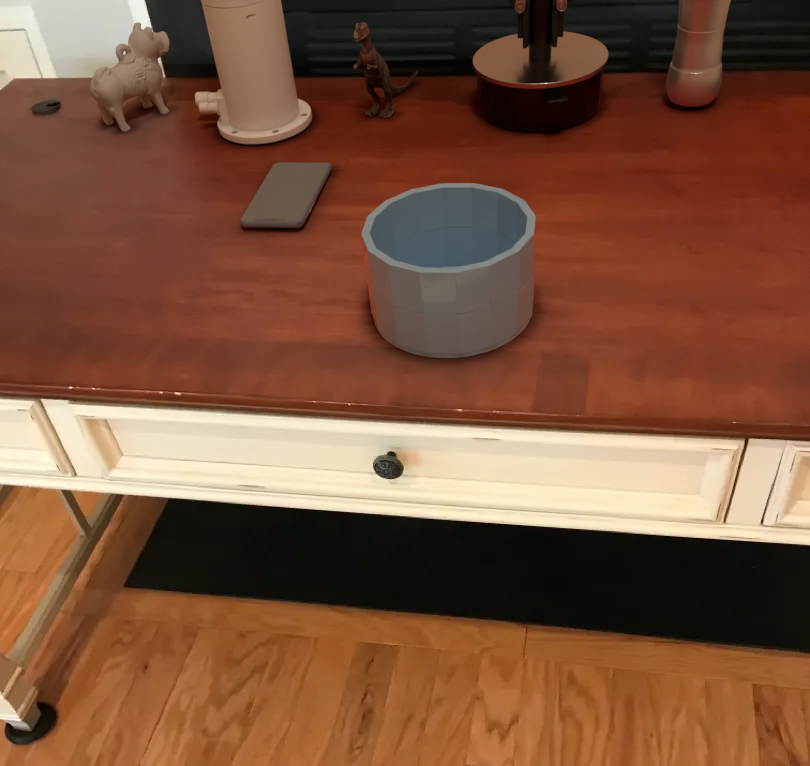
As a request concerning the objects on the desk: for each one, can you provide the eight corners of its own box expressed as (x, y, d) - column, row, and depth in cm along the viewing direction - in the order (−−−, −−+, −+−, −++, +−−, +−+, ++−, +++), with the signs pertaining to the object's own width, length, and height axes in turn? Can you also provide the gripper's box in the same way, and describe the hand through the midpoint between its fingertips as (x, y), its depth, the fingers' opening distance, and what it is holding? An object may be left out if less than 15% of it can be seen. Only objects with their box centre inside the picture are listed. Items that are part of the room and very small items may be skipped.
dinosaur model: (345, 25, 109) (396, -10, 118) (351, 124, 117) (397, 85, 127) (375, 28, 108) (424, -7, 117) (378, 129, 116) (424, 88, 126)
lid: (485, 101, 107) (483, 27, 101) (463, 50, 119) (461, -20, 113) (623, 83, 108) (630, 8, 102) (588, 33, 119) (593, -38, 113)
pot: (360, 356, 84) (347, 271, 77) (387, 265, 94) (378, 183, 88) (528, 360, 82) (529, 273, 75) (537, 266, 92) (539, 182, 85)
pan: (494, 149, 110) (493, 103, 106) (467, 82, 124) (465, 39, 120) (620, 132, 110) (624, 86, 106) (578, 67, 124) (581, 23, 120)
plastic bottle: (718, 113, 111) (751, -76, 96) (662, 113, 112) (685, -74, 98) (717, 91, 115) (748, -94, 100) (663, 91, 116) (685, -91, 102)
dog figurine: (192, 102, 127) (172, 19, 119) (118, 136, 122) (92, 51, 114) (169, 93, 130) (148, 12, 122) (96, 126, 124) (69, 43, 116)
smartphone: (333, 161, 109) (301, 222, 99) (334, 168, 110) (303, 231, 100) (273, 161, 111) (237, 222, 101) (275, 168, 111) (238, 230, 102)
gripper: (621, -152, 99) (607, 30, 112) (474, -142, 101) (477, 34, 115) (622, -134, 94) (607, 53, 108) (467, -125, 96) (471, 57, 110)
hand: (540, 42), depth 111 cm, fingers closed on lid, 2 cm apart
